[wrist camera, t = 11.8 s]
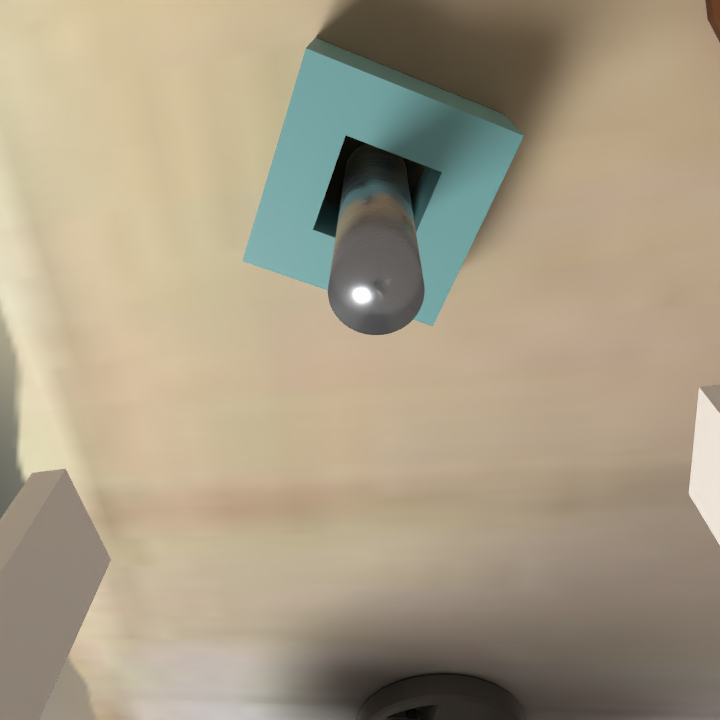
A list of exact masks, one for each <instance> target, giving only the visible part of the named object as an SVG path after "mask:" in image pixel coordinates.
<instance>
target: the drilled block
mask: <svg viewBox="0 0 720 720" xmlns="http://www.w3.org/2000/svg"><path fill="white" fill-rule="evenodd" d="M345 136H349V137H351V138H354V139H357V140H359V141H362V142H364V143H367V144H370V145H372V146H375V147H377V148H380V149H383V150H385V151H388V152H390V153H393V154H396V155H398V156H401V157H404V158H406V159H409V160H411V161H414V162H417V163H419V164H422V165H424V166H425V169H424V171H423V173H422V176H421V178H420V181H419V183H418V185H417V188H416V190H415V193H414V195H413V197H412V200H411V204H412V210H413V217H414V223H415V229H416V236H417V242H418V248H419V255H420V261H421V267H422V274H423V280H424V288H425V293H424V300H423V304H422V306H421V308H420V310H419V312H418V314H417V315H416V316H415V318H414V319H413V320H416V321H419V322H422V323H425V324H428V325H431V326H433V325H434V322H435V320H436V318H437V316H438V314H439V312H440V310H441V308H442V306H443V304H444V302H445V299H446V297H447V295H448V293H449V291H450V289H451V287H452V285H453V283H454V281H455V279H456V277H457V274H458V272H459V270H460V268H461V266H462V264H463V262H464V260H465V258H466V256H467V254H468V252H469V249H470V247H471V245H472V243H473V241H474V239H475V237H476V235H477V233H478V231H479V229H480V226H481V224H482V222H483V220H484V218H485V216H486V214H487V212H488V210H489V208H490V206H491V204H492V201H493V199H494V197H495V195H496V193H497V191H498V189H499V187H500V185H501V183H502V181H503V179H504V176H505V174H506V172H507V170H508V168H509V166H510V164H511V162H512V160H513V158H514V156H515V153H516V151H517V149H518V147H519V145H520V143H521V141H522V139H523V137H524V135H523V134H522V133H521V132H520V131H519V130H518V129H517V128H516V127H515V125H514V124H513V123H512V122H511V121H510V120H509V119H508V118H507V117H506V115H505V114H502V113H500V112H497V111H495V110H492V109H490V108H487V107H485V106H483V105H480V104H478V103H475V102H473V101H470V100H468V99H465V98H463V97H460V96H458V95H455V94H453V93H450V92H448V91H446V90H443V89H441V88H438V87H436V86H433V85H431V84H428V83H426V82H423V81H421V80H418V79H416V78H413V77H411V76H409V75H406V74H404V73H401V72H399V71H396V70H394V69H391V68H389V67H386V66H384V65H381V64H379V63H376V62H374V61H372V60H369V59H367V58H364V57H362V56H359V55H357V54H354V53H352V52H349V51H347V50H344V49H342V48H340V47H337V46H335V45H332V44H330V43H327V42H325V41H322V40H320V39H317V38H315V39H314V40H313V41H312V42H311V43H310V44H309V46H308V47H307V48H306V50H305V54H304V57H303V60H302V64H301V67H300V70H299V74H298V77H297V80H296V84H295V87H294V90H293V94H292V97H291V101H290V104H289V107H288V111H287V114H286V117H285V121H284V124H283V127H282V131H281V134H280V137H279V141H278V144H277V147H276V151H275V154H274V158H273V161H272V164H271V168H270V171H269V174H268V178H267V181H266V184H265V188H264V191H263V194H262V198H261V201H260V205H259V208H258V211H257V215H256V218H255V221H254V225H253V228H252V231H251V235H250V238H249V241H248V245H247V248H246V251H245V255H244V258H243V261H244V262H247V263H250V264H253V265H256V266H258V267H261V268H264V269H267V270H270V271H273V272H276V273H279V274H282V275H285V276H288V277H291V278H293V279H296V280H299V281H302V282H305V283H308V284H311V285H314V286H317V287H320V288H323V289H326V290H328V285H329V278H330V271H331V264H332V258H333V251H334V244H335V237H336V230H337V223H338V217H339V210H340V205H337V204H334V203H331V202H329V201H326V200H323V199H324V197H325V194H326V191H327V188H328V185H329V182H330V179H331V176H332V173H333V171H334V168H335V165H336V162H337V159H338V156H339V153H340V150H341V147H342V145H343V142H344V139H345Z"/></svg>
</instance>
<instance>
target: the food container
mask: <svg viewBox="0 0 720 720" xmlns="http://www.w3.org/2000/svg"><path fill="white" fill-rule="evenodd" d="M705 1H706V9H707V17H708V21H709V23H710V25H711V26H712V28H713V30H714V32H715V34H716V36H717V38H718V40H719V42H720V0H705Z"/></svg>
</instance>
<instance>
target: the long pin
mask: <svg viewBox="0 0 720 720" xmlns="http://www.w3.org/2000/svg"><path fill="white" fill-rule="evenodd" d="M424 293H425V288H424V280H423V274H422V267H421V261H420V255H419V248H418V242H417V236H416V229H415V223H414V217H413V210H412V204H411V198H410V191H409V185H408V179H407V172H406V166H405V163H404V160H403V158H402V157H401V156H398V155H396V154H393V153H390V152H388V151H385V150H383V149H380V148H377V147H375V146H372V145H370V144H367V143H366V144H364V145H362V146H360V147H358V148H357V149H356V150H355V151H354V152H353V153H352V154H351V155H350V157H349V159H348V161H347V164H346V169H345V176H344V183H343V189H342V196H341V203H340V210H339V217H338V223H337V230H336V237H335V244H334V251H333V258H332V264H331V271H330V278H329V285H328V297H329V302H330V305H331V307H332V310H333V311H334V313H335V315H336V316H337V317H338V318H339V320H340V321H342V322H343V323H344V324H345V325H346V326H348V327H349V328H351V329H353V330H355V331H358V332H360V333H364V334H369V335H383V334H388V333H392V332H395V331H397V330H399V329H401V328H403V327H405V326H406V325H407V324H409V323H410V322H411V321H412V320H413V319H414V318H415V316H416V315H417V314H418V312H419V310H420V308H421V306H422V304H423V300H424Z"/></svg>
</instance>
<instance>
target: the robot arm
mask: <svg viewBox="0 0 720 720" xmlns="http://www.w3.org/2000/svg"><path fill="white" fill-rule="evenodd" d="M689 495H690V497H691V499H692V500H693V502H694V503H695V505H696V507H697V508H698V510H699V512H700V513H701V515H702V517H703V518H704V520H705V522H706V523H707V525H708V527H709V528H710V530H711V532H712V533H713V535H714V537H715V538H716V540H717V541H718V543H719V545H720V385H712V386H705V387H699V394H698V404H697V414H696V425H695V435H694V445H693V456H692V466H691V476H690V486H689ZM110 560H111V559H110V557H109V555H108V553H107V551H106V549H105V547H104V545H103V543H102V541H101V539H100V537H99V535H98V533H97V531H96V529H95V527H94V525H93V523H92V521H91V519H90V517H89V515H88V513H87V511H86V509H85V507H84V505H83V503H82V501H81V499H80V497H79V495H78V493H77V491H76V489H75V487H74V485H73V483H72V481H71V479H70V477H69V475H68V473H67V471H66V469H61V470H53V471H45V472H37V473H32V474H31V476H30V477H29V478H28V480H27V481H26V483H25V484H24V486H23V488H22V489H21V490H20V492H19V493H18V495H17V496H16V498H15V499H14V500H13V502H12V503H11V505H10V506H9V508H8V510H7V511H6V512H5V514H4V515H3V517H2V518H1V519H0V720H39V719H40V717H41V714H42V712H43V710H44V708H45V705H46V703H47V701H48V699H49V697H50V694H51V692H52V690H53V688H54V685H55V683H56V681H57V679H58V676H59V674H60V672H61V670H62V668H63V665H64V663H65V661H66V659H67V656H68V654H69V652H70V650H71V647H72V645H73V643H74V641H75V639H76V636H77V634H78V632H79V630H80V627H81V625H82V623H83V621H84V618H85V616H86V614H87V612H88V610H89V607H90V605H91V603H92V601H93V598H94V596H95V594H96V592H97V589H98V587H99V585H100V583H101V581H102V578H103V576H104V574H105V572H106V569H107V567H108V565H109V563H110ZM356 720H526V719H525V715H524V712H523V710H522V708H521V706H520V704H519V703H518V702H517V701H516V699H515V698H514V697H512V696H511V695H510V694H509V693H508V692H506V691H505V690H503V689H501V688H500V687H498V686H496V685H494V684H491V683H489V682H486V681H483V680H480V679H476V678H472V677H466V676H459V675H427V676H420V677H415V678H410V679H406V680H403V681H400V682H397V683H394V684H392V685H390V686H387V687H386V688H384V689H382V690H380V691H379V692H377V693H376V694H374V695H373V696H372V697H371V698H369V699H368V700H367V701H366V703H365V704H364V705H363V706H362V708H361V709H360V711H359V713H358V716H357V719H356Z"/></svg>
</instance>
